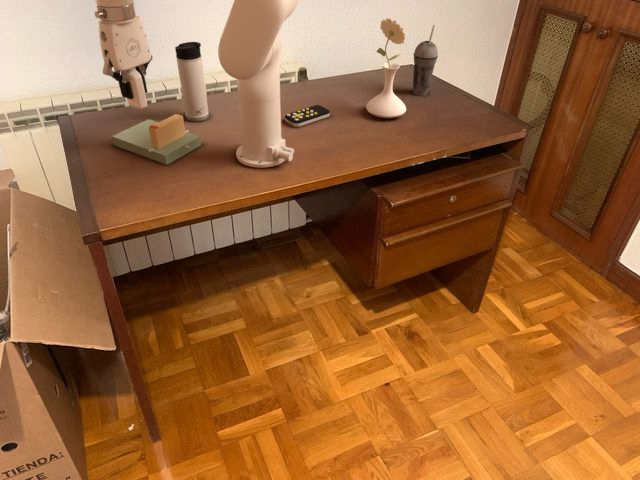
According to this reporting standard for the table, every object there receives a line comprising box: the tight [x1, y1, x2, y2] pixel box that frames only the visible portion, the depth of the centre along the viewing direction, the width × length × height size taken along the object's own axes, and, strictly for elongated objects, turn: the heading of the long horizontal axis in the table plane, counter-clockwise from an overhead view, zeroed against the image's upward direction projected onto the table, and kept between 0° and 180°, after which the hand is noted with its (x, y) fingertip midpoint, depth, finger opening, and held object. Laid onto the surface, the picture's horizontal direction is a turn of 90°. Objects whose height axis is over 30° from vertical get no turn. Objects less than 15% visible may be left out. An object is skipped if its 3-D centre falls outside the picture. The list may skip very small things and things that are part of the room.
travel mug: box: [174, 41, 210, 123], centre depth 130 cm, size 6×7×20 cm
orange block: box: [149, 113, 186, 149], centre depth 117 cm, size 9×2×5 cm, turn 149°
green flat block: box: [111, 118, 202, 166], centre depth 121 cm, size 20×13×3 cm, turn 59°
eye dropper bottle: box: [126, 67, 148, 110], centre depth 115 cm, size 4×6×12 cm
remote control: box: [284, 104, 331, 128], centre depth 136 cm, size 6×13×2 cm, turn 130°
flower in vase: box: [365, 17, 407, 119], centre depth 133 cm, size 13×11×25 cm
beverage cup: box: [412, 24, 439, 96], centre depth 147 cm, size 7×7×20 cm
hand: (134, 93), depth 117 cm, fingers closed on eye dropper bottle, 3 cm apart
